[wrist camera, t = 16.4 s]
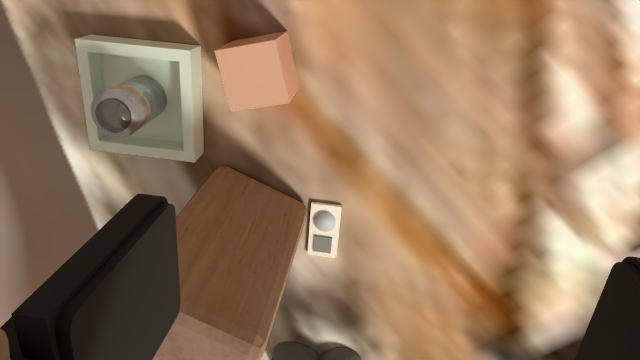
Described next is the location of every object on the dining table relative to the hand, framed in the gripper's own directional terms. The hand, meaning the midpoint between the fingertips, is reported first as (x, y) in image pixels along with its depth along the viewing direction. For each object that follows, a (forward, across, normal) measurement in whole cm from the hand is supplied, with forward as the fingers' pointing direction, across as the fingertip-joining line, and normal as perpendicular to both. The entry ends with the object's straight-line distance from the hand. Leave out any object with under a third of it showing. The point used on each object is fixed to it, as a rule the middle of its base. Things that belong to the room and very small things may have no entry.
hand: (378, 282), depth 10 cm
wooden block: (+34, +11, +19) cm, 40 cm away
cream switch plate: (+33, +4, +19) cm, 38 cm away
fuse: (+33, +21, +7) cm, 39 cm away
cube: (+33, +10, +3) cm, 35 cm away
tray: (+33, +21, +7) cm, 40 cm away
